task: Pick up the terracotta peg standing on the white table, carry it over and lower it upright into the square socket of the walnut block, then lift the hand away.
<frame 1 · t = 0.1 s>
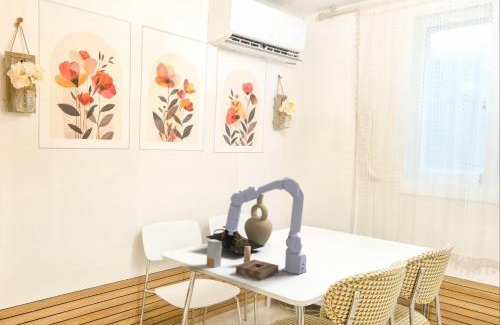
hand: (227, 246, 185), 10 cm above the table, fingers open, 7 cm apart
socket block: (257, 273, 181), on the table
peg: (246, 264, 193), on the table
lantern: (230, 250, 220), on the table
skincare box: (213, 265, 190), on the table
vase: (257, 244, 236), on the table
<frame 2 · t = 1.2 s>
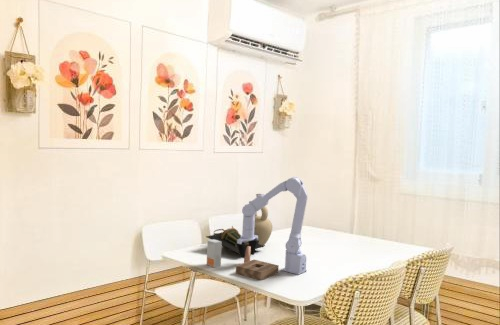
hand: (247, 256, 193), 4 cm above the table, fingers open, 7 cm apart
nothing on the table moved.
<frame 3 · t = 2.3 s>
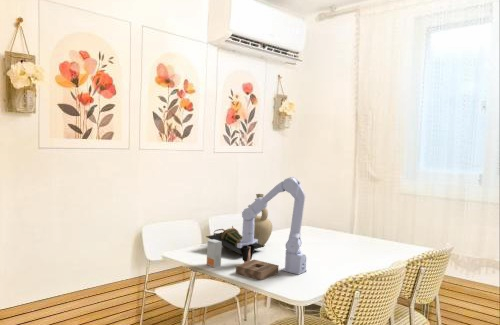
hand: (247, 260, 193), 2 cm above the table, fingers closed on peg, 3 cm apart
peg: (246, 264, 193), on the table, touching gripper
everything else where it was.
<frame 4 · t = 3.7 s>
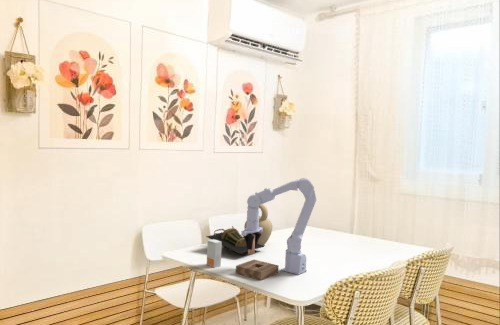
hand: (251, 248, 188), 9 cm above the table, fingers closed on peg, 3 cm apart
peg: (251, 253, 189), point 7 cm above the table, touching gripper
everything else where it was.
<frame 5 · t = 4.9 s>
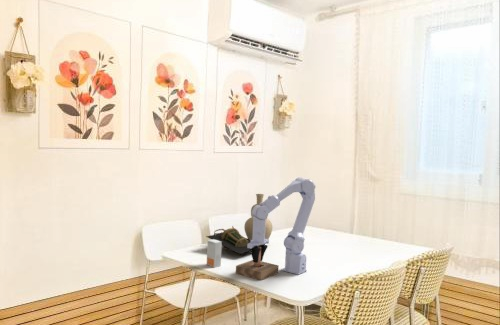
hand: (257, 261, 181), 5 cm above the table, fingers closed on peg, 3 cm apart
peg: (257, 266, 181), point 3 cm above the table, touching gripper
everything else where it was.
when the fingers open (4 cm above the table, at t = 5.4 s): peg drops 2 cm, resting in socket block.
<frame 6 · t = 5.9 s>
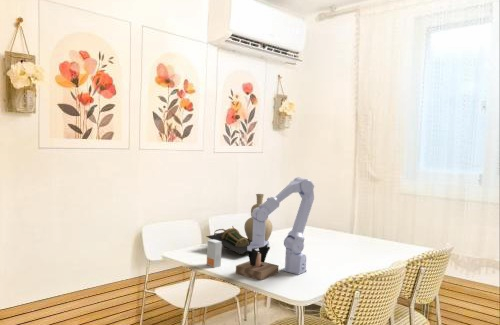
hand: (257, 263, 181), 4 cm above the table, fingers open, 7 cm apart
peg: (256, 273, 181), resting in socket block
everything else where it was.
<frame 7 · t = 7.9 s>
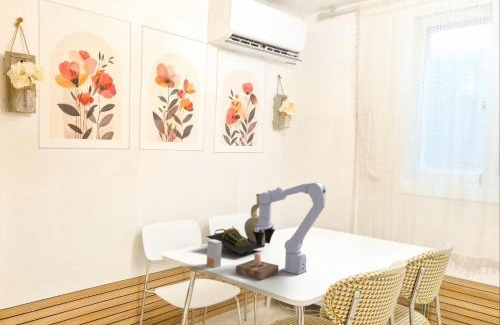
hand: (263, 244, 193), 10 cm above the table, fingers open, 7 cm apart
nothing on the table moved.
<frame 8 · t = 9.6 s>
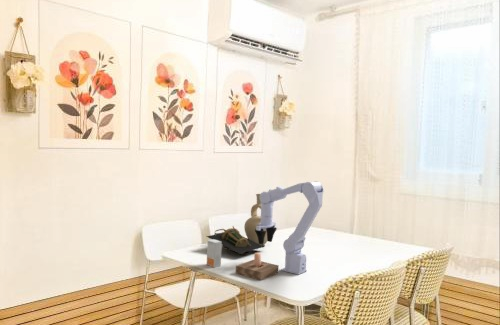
hand: (265, 242, 196), 10 cm above the table, fingers open, 7 cm apart
nothing on the table moved.
at the end: peg 0.1 cm off-centre on the socket block, point 0.0 cm above the socket block's base; peg tilted 0°; the gripper is holding nothing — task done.
